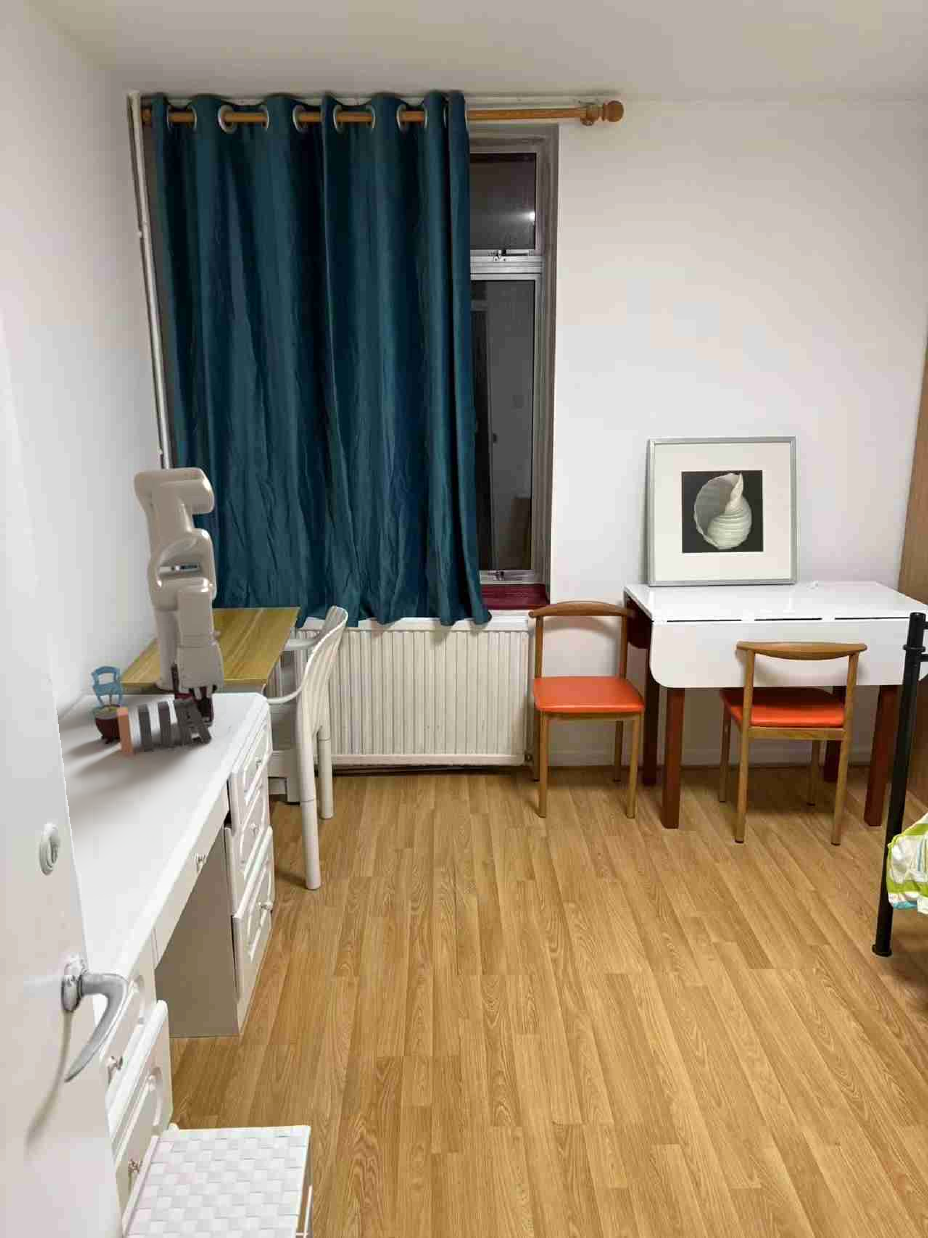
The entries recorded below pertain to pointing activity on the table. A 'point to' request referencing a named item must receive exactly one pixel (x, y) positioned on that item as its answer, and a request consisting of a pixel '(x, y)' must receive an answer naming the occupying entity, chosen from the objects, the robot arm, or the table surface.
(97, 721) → the mate gourd
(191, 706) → the domino
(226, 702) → the table surface
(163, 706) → the domino
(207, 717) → the supplement box
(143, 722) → the domino
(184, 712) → the domino
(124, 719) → the rust domino
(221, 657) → the robot arm
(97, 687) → the chair
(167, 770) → the table surface
